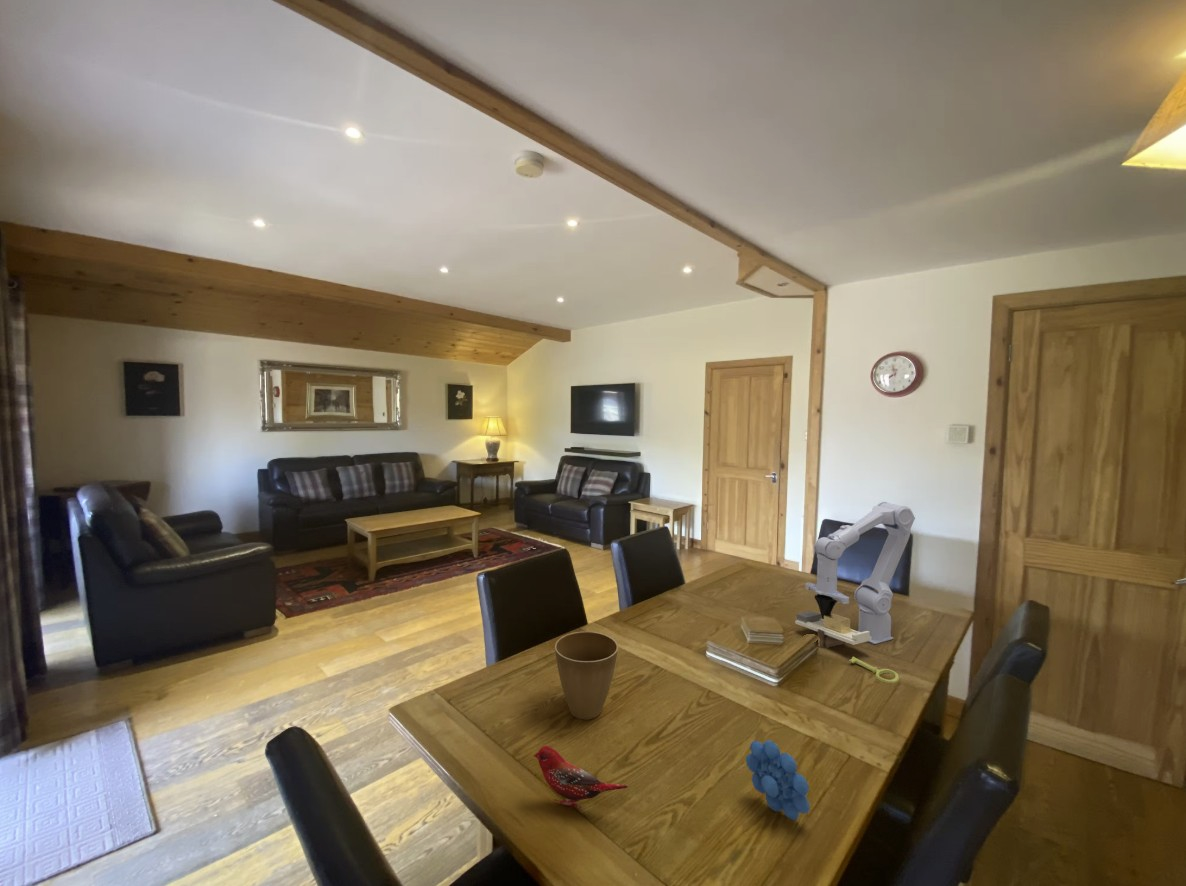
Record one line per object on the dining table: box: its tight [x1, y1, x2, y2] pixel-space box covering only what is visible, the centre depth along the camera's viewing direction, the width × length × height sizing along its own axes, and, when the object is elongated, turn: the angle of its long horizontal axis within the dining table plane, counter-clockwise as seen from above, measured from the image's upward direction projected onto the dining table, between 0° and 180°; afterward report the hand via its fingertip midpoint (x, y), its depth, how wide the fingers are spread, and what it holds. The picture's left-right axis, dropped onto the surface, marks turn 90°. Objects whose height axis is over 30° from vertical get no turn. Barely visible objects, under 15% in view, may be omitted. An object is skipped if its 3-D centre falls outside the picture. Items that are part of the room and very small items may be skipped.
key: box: [848, 656, 900, 684], centre depth 135 cm, size 7×12×2 cm, turn 52°
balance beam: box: [795, 610, 872, 646], centre depth 153 cm, size 21×8×3 cm, turn 25°
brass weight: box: [823, 613, 852, 634], centre depth 151 cm, size 6×4×4 cm
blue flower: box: [745, 740, 810, 821], centre depth 86 cm, size 12×7×12 cm, turn 44°
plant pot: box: [554, 631, 619, 720], centre depth 115 cm, size 15×15×16 cm
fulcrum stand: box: [817, 629, 845, 649], centre depth 153 cm, size 3×10×5 cm, turn 115°
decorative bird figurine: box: [533, 745, 629, 809], centre depth 86 cm, size 3×18×10 cm, turn 73°
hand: (825, 618), depth 154 cm, fingers closed
